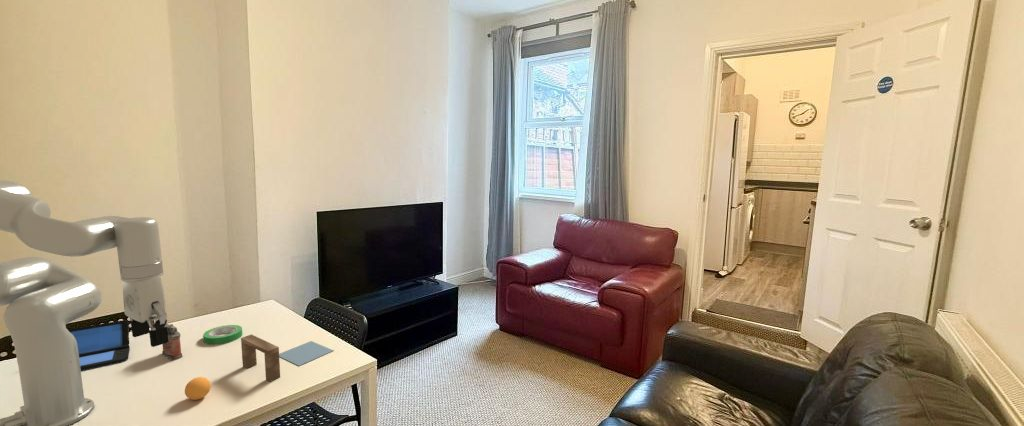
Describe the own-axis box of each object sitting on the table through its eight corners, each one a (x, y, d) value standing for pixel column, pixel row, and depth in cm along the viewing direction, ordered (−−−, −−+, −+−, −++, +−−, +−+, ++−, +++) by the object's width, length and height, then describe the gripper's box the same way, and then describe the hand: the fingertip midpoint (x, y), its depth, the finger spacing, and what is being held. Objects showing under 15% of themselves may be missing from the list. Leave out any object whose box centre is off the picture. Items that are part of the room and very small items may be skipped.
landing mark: (298, 366, 127) (298, 365, 127) (276, 355, 133) (276, 354, 133) (333, 351, 137) (333, 350, 137) (311, 341, 143) (311, 340, 143)
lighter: (159, 354, 132) (156, 324, 130) (172, 350, 135) (169, 320, 133) (172, 361, 128) (169, 330, 126) (185, 356, 131) (182, 326, 129)
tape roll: (207, 334, 147) (207, 327, 147) (244, 329, 152) (244, 322, 151) (200, 347, 137) (199, 340, 137) (239, 342, 142) (239, 335, 141)
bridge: (269, 381, 119) (268, 351, 117) (242, 366, 126) (240, 337, 125) (280, 376, 121) (278, 347, 120) (253, 362, 128) (251, 334, 127)
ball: (191, 406, 106) (189, 386, 105) (181, 399, 109) (179, 380, 108) (215, 396, 111) (214, 377, 110) (205, 389, 114) (204, 370, 113)
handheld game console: (53, 378, 117) (48, 347, 116) (61, 359, 127) (58, 330, 126) (128, 362, 127) (125, 333, 126) (131, 345, 137) (128, 318, 136)
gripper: (105, 268, 99) (115, 337, 101) (138, 280, 90) (147, 355, 93) (145, 261, 105) (153, 326, 108) (178, 272, 97) (186, 342, 99)
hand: (150, 339), depth 100 cm, fingers open, 9 cm apart
